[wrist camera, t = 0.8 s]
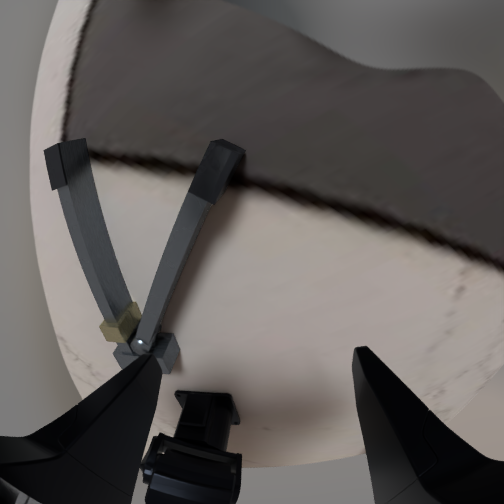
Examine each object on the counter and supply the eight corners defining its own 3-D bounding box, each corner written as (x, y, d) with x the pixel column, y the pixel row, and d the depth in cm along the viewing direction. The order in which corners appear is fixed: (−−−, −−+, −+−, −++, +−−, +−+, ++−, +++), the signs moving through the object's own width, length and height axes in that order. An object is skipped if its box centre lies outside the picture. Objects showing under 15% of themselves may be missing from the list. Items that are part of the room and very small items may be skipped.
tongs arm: (160, 334, 23) (148, 359, 20) (143, 325, 23) (129, 349, 20) (246, 150, 16) (238, 155, 13) (219, 137, 16) (206, 139, 13)
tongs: (180, 349, 24) (168, 377, 21) (134, 346, 25) (119, 371, 22) (116, 126, 16) (85, 129, 13) (66, 146, 17) (35, 153, 13)
